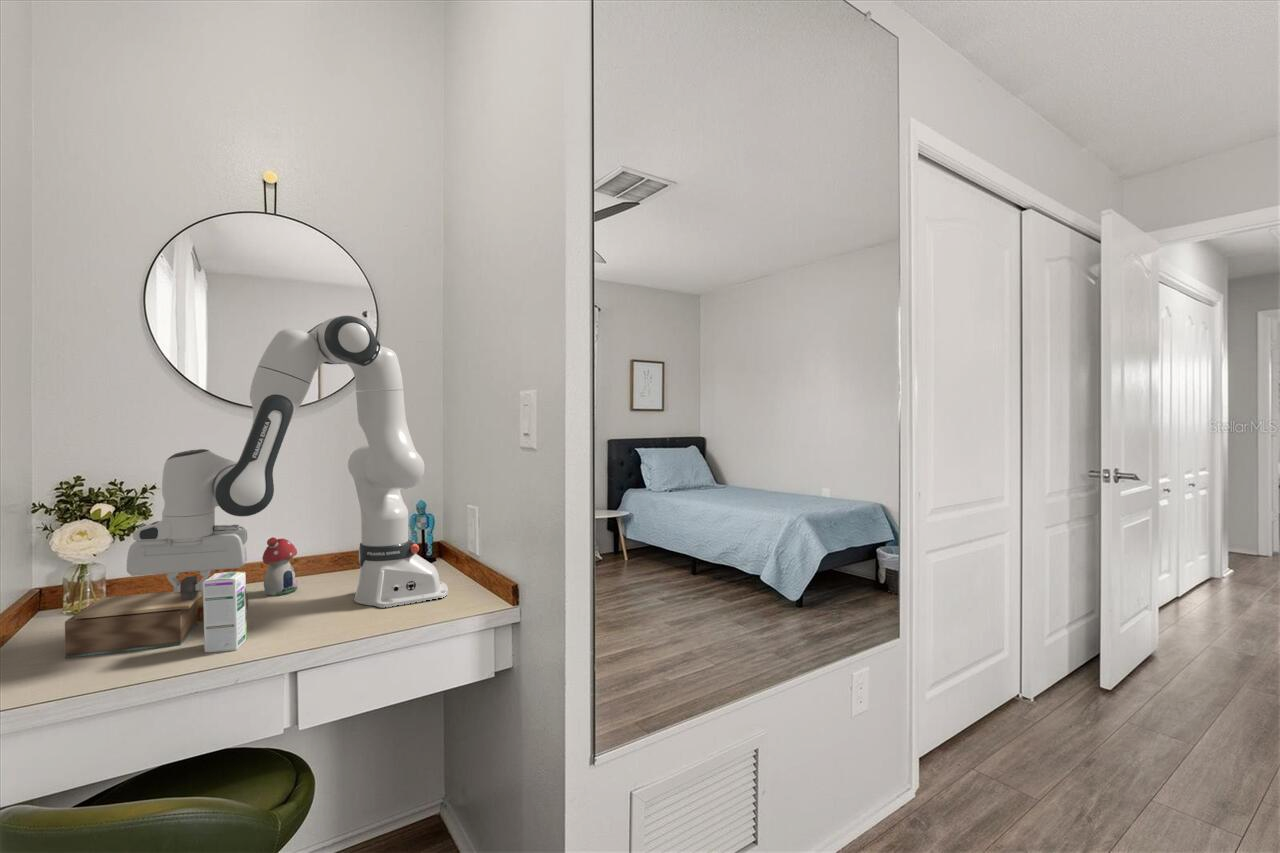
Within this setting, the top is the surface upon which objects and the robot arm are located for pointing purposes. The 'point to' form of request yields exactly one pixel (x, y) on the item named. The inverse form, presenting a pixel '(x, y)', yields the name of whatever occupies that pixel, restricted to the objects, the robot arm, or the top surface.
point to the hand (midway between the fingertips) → (189, 592)
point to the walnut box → (128, 631)
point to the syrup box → (224, 611)
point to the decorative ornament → (279, 567)
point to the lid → (144, 602)
